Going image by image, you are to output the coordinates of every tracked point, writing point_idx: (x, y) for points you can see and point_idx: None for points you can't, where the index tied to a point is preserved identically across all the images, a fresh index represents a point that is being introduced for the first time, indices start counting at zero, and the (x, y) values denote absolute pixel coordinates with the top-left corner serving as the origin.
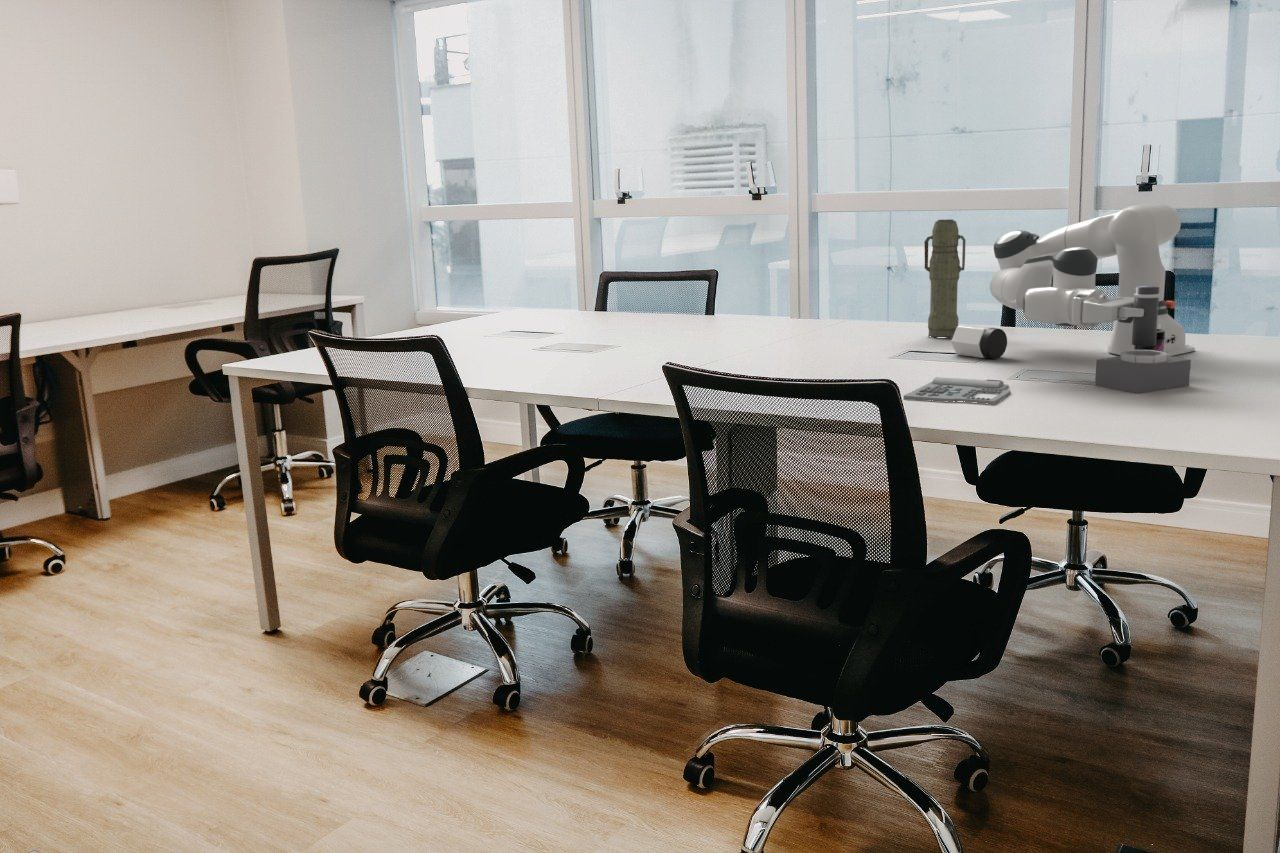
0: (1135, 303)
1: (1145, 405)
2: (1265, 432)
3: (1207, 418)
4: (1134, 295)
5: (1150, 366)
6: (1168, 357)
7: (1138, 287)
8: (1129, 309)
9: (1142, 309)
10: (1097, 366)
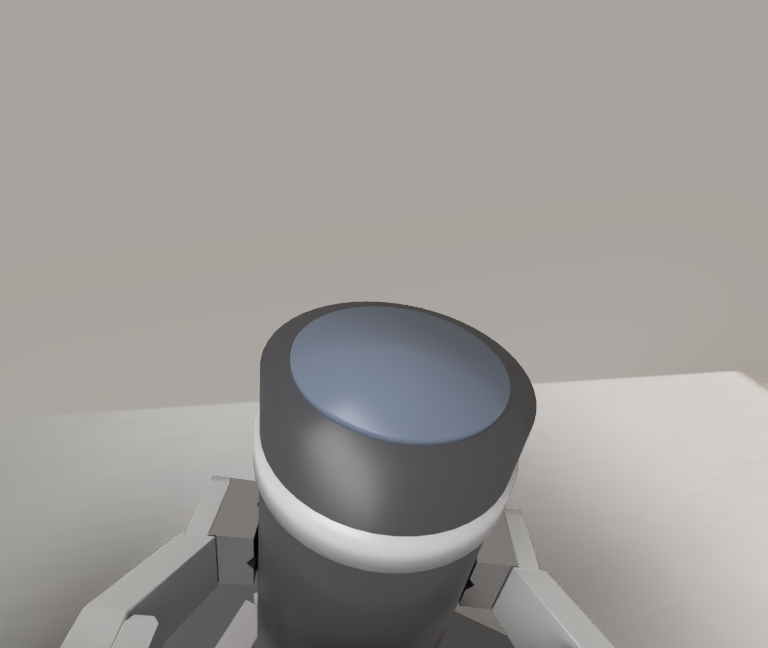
0: (467, 572)
1: (650, 605)
2: (623, 381)
3: (624, 452)
4: (476, 537)
5: (469, 622)
6: (204, 611)
7: (493, 423)
8: (579, 623)
9: (518, 510)
10: None
